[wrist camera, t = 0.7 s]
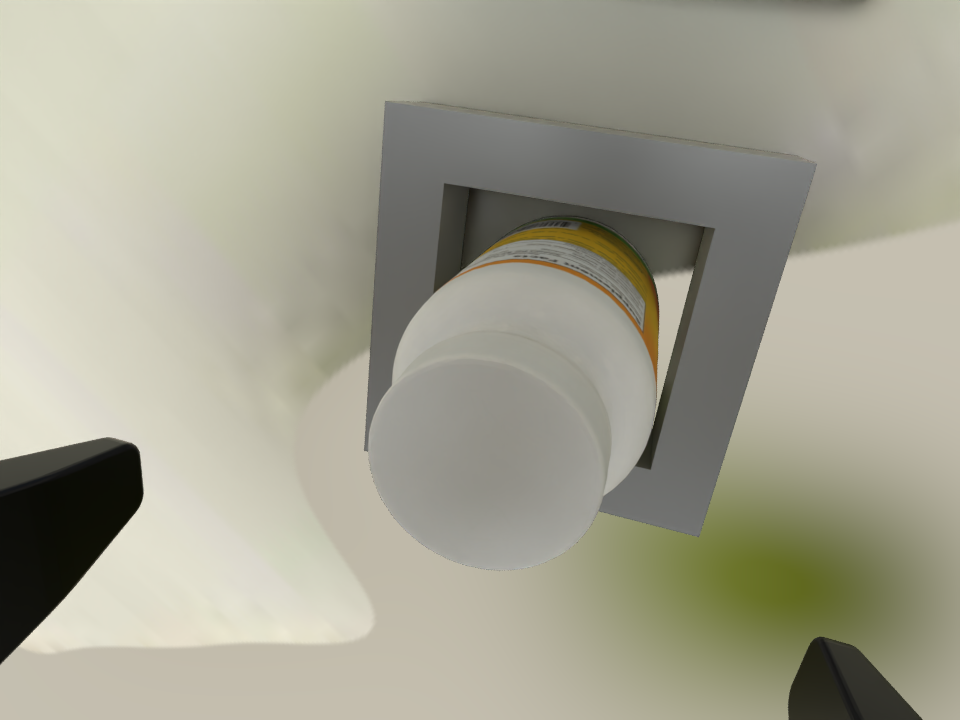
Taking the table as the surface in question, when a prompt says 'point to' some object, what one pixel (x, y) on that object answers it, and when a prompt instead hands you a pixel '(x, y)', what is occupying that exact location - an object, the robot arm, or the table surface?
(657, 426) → the holder
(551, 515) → the supplement bottle
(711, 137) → the table surface
